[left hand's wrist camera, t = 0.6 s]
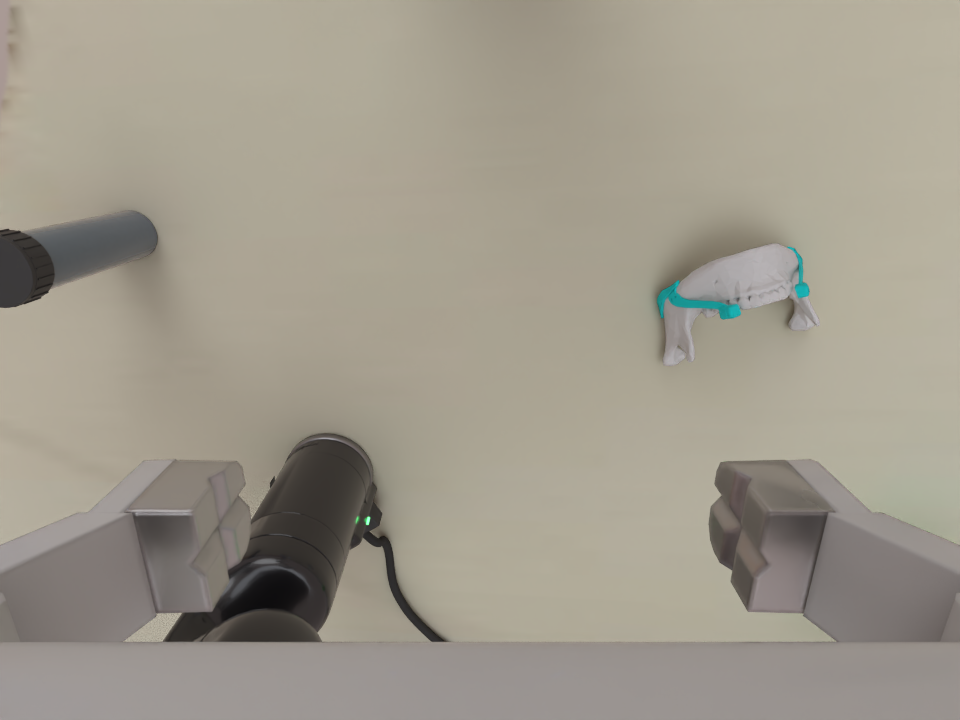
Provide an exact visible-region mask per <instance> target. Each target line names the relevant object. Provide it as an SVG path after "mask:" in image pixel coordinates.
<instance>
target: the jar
mask: <svg viewBox="0 0 960 720" xmlns="http://www.w3.org/2000/svg"><path fill="white" fill-rule="evenodd" d="M21 232H22V233H25V234H27V235H29V236H32V237H33V238H34V239H35V240H37V241H38V242H39V243H41V245H42V246H43V247H44V248H45V249H46V251H47V252H48V253H49V255H50V257H51V259H52V262H53V264H54V270H55V277H54V282H53V285H52V287H51V288H50V289H53V288H56V287H59V286H61V285H64V284H67V283H70V282H73V281H76V280H79V279H82V278H85V277H87V276H90V275H93V274H96V273H99V272H102V271H105V270H108V269H111V268H113V267H116V266H119V265H122V264H125V263H128V262H131V261H134V260H137V259H139V258H142V257H145V256H147V255H149V254H151V253H152V252H153V250H154V249H155V247H156V244H157V233H156V230H155V228H154V226H153V224H152V223H151V221H150V220H149V219H148V218H147V217H145V216H144V215H142V214H141V213H138V212H135V211H122V212H117V213H111V214H106V215H101V216H96V217H91V218H86V219H81V220H76V221H71V222H66V223H61V224H56V225H51V226H46V227H41V228H36V229H31V230H26V231H21Z"/></svg>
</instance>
